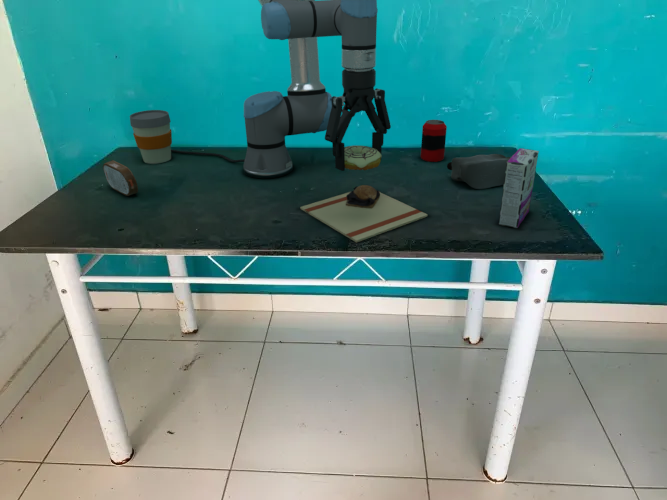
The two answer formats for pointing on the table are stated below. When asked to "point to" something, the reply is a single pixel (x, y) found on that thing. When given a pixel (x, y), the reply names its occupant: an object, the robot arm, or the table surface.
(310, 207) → the towel
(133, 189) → the tin
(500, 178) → the gray bottle
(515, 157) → the candy bar box
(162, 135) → the reusable coffee cup
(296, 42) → the robot arm
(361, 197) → the bread roll
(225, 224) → the table surface
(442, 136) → the soda can
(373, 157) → the decorated donut
